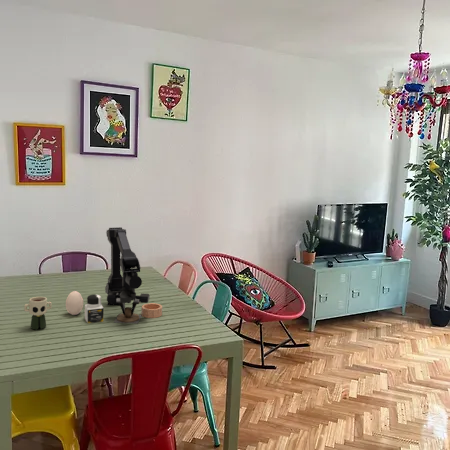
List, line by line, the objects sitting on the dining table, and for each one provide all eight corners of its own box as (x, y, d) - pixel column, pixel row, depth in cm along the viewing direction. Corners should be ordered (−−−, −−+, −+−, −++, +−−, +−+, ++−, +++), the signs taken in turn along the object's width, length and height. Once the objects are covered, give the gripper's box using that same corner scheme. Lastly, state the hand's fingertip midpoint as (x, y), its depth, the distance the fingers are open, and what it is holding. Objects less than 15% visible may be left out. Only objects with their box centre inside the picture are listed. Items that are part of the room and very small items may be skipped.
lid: (114, 321, 207) (115, 311, 206) (119, 314, 217) (119, 304, 216) (137, 322, 207) (137, 312, 207) (140, 315, 217) (140, 305, 217)
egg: (78, 310, 221) (78, 287, 220) (86, 315, 216) (86, 291, 214) (62, 313, 216) (62, 290, 214) (70, 318, 210) (70, 294, 208)
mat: (113, 323, 207) (113, 322, 207) (118, 315, 218) (118, 314, 218) (137, 324, 207) (137, 323, 207) (141, 316, 218) (141, 315, 218)
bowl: (140, 318, 215) (140, 309, 214) (143, 311, 224) (143, 302, 223) (160, 319, 215) (160, 310, 214) (162, 312, 224) (163, 303, 224)
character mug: (25, 332, 192) (25, 302, 190) (23, 326, 198) (23, 297, 196) (53, 329, 197) (52, 300, 195) (50, 323, 203) (50, 295, 201)
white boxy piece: (87, 324, 204) (87, 298, 202) (84, 319, 210) (84, 294, 209) (103, 322, 208) (103, 297, 206) (100, 317, 214) (100, 292, 212)
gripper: (104, 286, 202) (103, 320, 204) (146, 288, 202) (145, 322, 204) (109, 280, 213) (109, 312, 215) (150, 281, 213) (149, 313, 215)
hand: (128, 315), depth 212 cm, fingers closed on lid, 3 cm apart
